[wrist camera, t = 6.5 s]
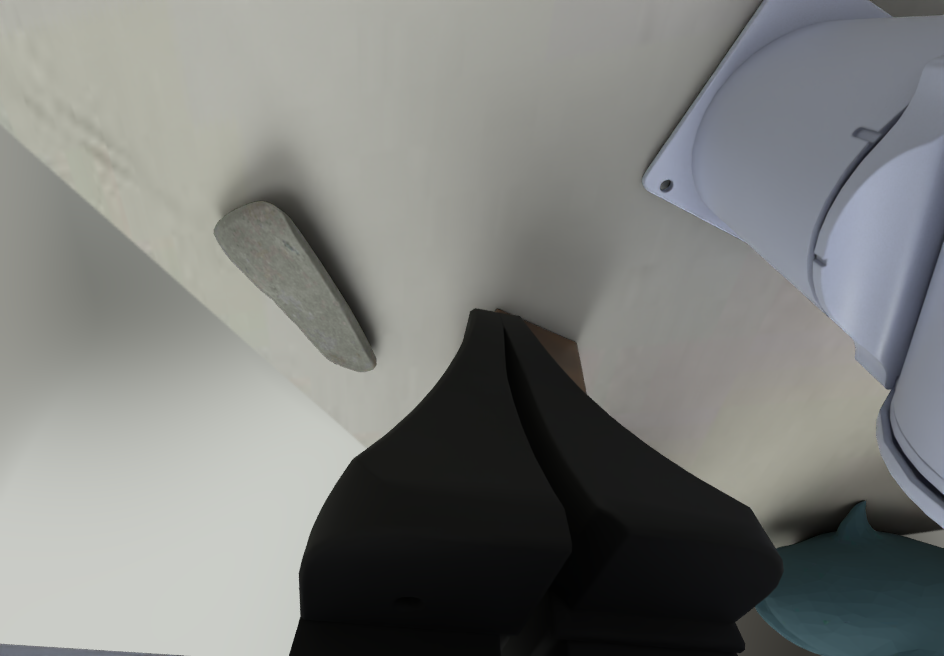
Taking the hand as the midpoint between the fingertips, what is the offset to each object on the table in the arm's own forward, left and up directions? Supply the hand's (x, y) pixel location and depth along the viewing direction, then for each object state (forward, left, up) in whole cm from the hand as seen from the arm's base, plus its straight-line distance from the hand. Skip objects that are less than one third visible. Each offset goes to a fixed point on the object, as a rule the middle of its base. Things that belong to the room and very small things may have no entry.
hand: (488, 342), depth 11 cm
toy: (-35, +4, -4) cm, 35 cm away
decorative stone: (+9, +10, -10) cm, 16 cm away
